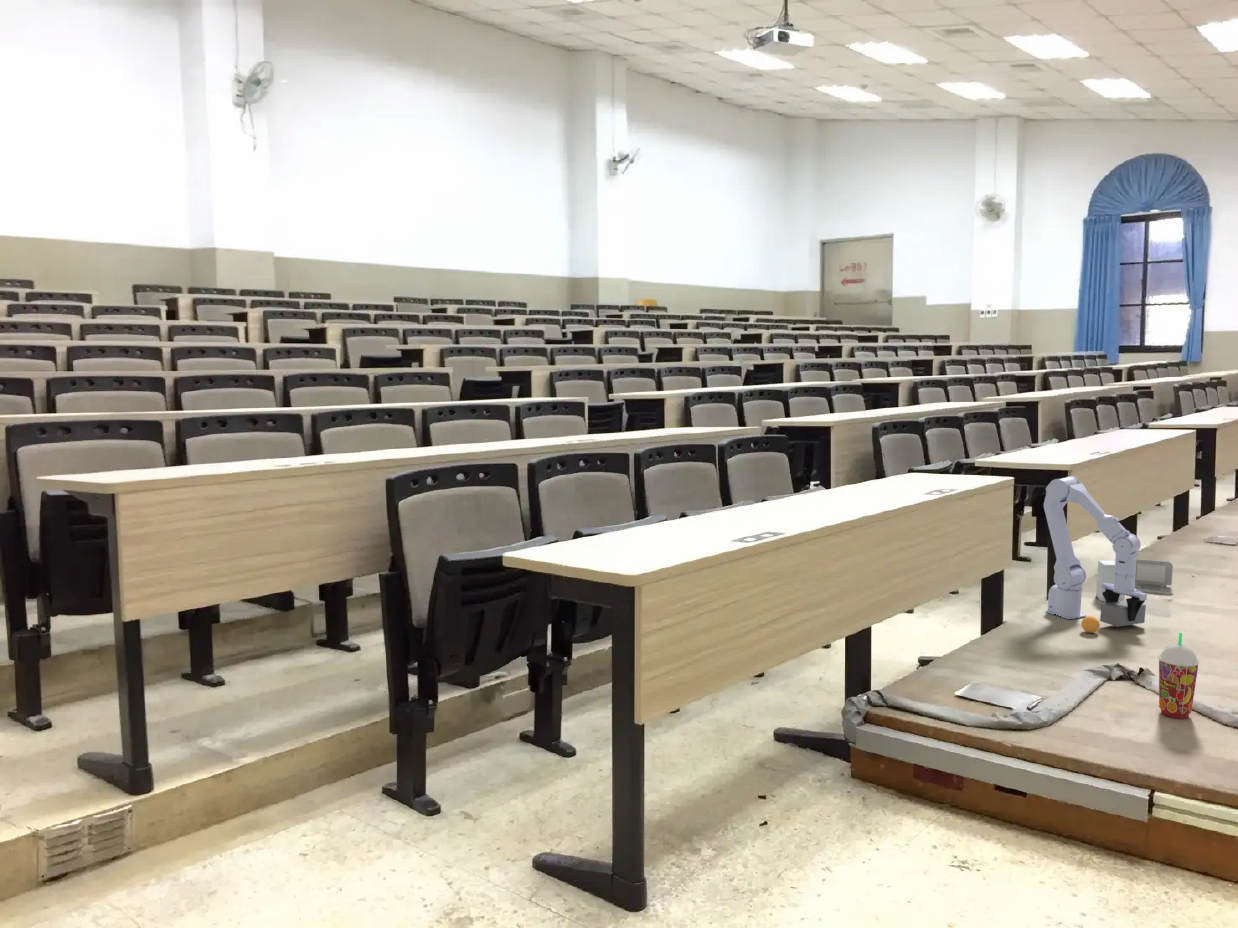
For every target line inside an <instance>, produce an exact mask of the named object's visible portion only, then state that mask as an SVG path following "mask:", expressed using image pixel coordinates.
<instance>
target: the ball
mask: <svg viewBox="0 0 1238 928" xmlns="http://www.w3.org/2000/svg"><path fill="white" fill-rule="evenodd" d="M1080 625H1081V628H1082V629H1083V631H1085V632H1086V633H1090V634H1094V633H1096V632H1097V631H1099V629H1100V625H1101V624H1100V620H1098V618H1096V617H1095V616H1091V615H1087V616H1086V617H1083V618H1082V620H1081V623H1080Z"/></svg>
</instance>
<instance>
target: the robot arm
mask: <svg viewBox="0 0 1238 928" xmlns="http://www.w3.org/2000/svg"><path fill="white" fill-rule="evenodd" d="M1045 492H1046V493H1045V497H1044V502H1043V509H1044V513H1045V517H1046V521H1047V525H1048V530H1049V533H1050V537H1051V542H1052V547H1053V550H1054V554H1055V558H1056V561H1055V564H1054V565H1053V570H1054V573H1053V574H1054V575H1053V582H1054V585H1052V586H1051V587H1050V588H1049V591H1048V597H1047V598H1048V599H1047V610H1045V612H1046V613H1047V614H1051V615H1054V614H1056V615H1055V616H1057V615H1058V617H1060V616H1061V617H1060V618H1062V619H1063V618H1064V619H1067V620H1073V619H1078V618H1085V617H1087V616H1088V615H1087V614H1086V613H1085V614H1084V613H1082V612H1081V610H1082V591H1083V587H1082V584H1083V583H1085V581H1086V580H1087V572H1086V570H1085V569H1084V568H1083V567H1082V564H1081V561H1080V560H1079V559H1078V558H1077V557H1076V556H1075V551H1074V548H1073V543H1072V538H1071V536H1070V532H1069V528H1068V523H1067V519H1066V516H1065V511H1064V507H1065V506H1066V504H1067V503H1068V502H1072V503H1077V504H1078V505H1080V506H1081V508H1083V509H1084V510H1085V511H1086V513H1087V514H1089V515H1090V516H1091V517H1092V519H1094V520H1095V521H1096V527H1097V529H1098V530H1099V531H1100V532H1101V533H1102V535H1104V536H1105V538H1106V539H1108V541H1109V542H1110V544H1112V549H1113V551H1114V553H1115V558H1114V561H1115V573H1114V584H1110V583H1102V590H1106V591H1105V592H1103V594H1102V595H1103V596H1104V598H1105V600H1106V601H1105V603H1109V602H1117V601H1118V599H1119V596H1120V594H1123V595H1125V596H1126V597H1129V598H1125V600H1126V601H1127V605H1128V621H1135V619H1136V616H1137V613H1138V611H1139V609H1140V607H1141V606H1142V604H1144V603H1145V601H1147V599H1148V595H1147V594H1148V593H1143V592H1141V591H1138V590H1136V589H1135V573H1136V559H1137V554H1138V553H1137V552H1138V551H1139V550H1140V549H1141V540H1140V538H1139V537H1138V536H1137V535H1135V534H1134V533H1131V532H1130V530H1127V529H1126V527H1124V526H1123V525H1122V524H1121V522H1120V519H1119V518H1118V517H1115V516H1114V515H1113V514H1112V515H1110V514H1106V512H1105V510H1103V509H1102V508H1101V506H1100V505H1099V504H1098V503H1097V501H1096V500H1095V499H1094V498H1093V497H1092V495H1091V493H1089V492H1088V490H1087V488H1086V487H1085V485H1084V484H1083V483H1081V481H1080V480H1079V479H1078V478H1077V477H1075V476H1072V475H1071V476H1066V477H1062V478H1055V479H1052V480H1051V481H1050V482H1049V483H1048V484H1047V486H1046V487H1045Z"/></svg>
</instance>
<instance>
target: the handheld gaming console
mask: <svg viewBox="0 0 1238 928" xmlns="http://www.w3.org/2000/svg"><path fill="white" fill-rule="evenodd" d="M1173 568H1174V567H1173V563H1172V562H1171V561H1169V560H1167V561H1166V560H1156V559H1155V560H1154V559H1144V558H1143V559H1142V558H1136V573H1135V589H1136V590H1138V591H1141V592H1143V593H1146V594H1153V595H1155V594H1157V595H1166V596H1172V595H1173V589H1172V587H1171V586H1172V584H1173V583H1172V582H1173V580H1172V579H1173Z"/></svg>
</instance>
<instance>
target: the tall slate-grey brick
mask: <svg viewBox="0 0 1238 928" xmlns="http://www.w3.org/2000/svg"><path fill="white" fill-rule="evenodd" d="M1100 605H1101V606H1100V617H1099V622H1101V623H1104V624H1108V625H1111V626H1114V627H1125V626H1132V625H1138V624H1139V625H1140V624H1144V623H1145V618H1146V610H1147V609H1146V608H1147V607H1146V606H1147V605H1146V604H1144V603H1143V604H1142V606H1141V607H1140V609H1139V611H1138V613H1137V616H1136V619H1135V621H1128V605H1127V601H1126V599H1125V601H1117V602H1109V603H1106V602H1102V603H1100Z"/></svg>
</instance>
